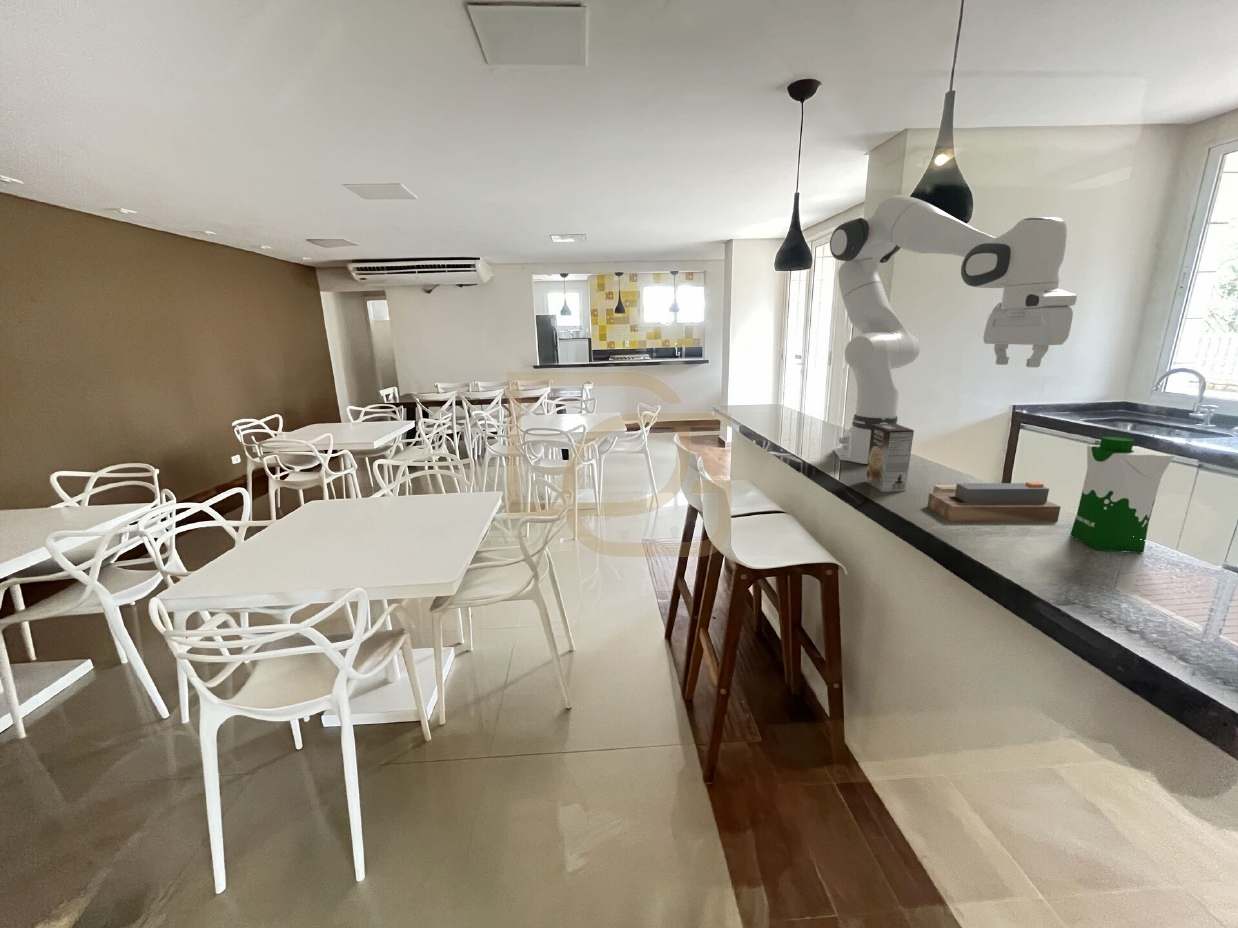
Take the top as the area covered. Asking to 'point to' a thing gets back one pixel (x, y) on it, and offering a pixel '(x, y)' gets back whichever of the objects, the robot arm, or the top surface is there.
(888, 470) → the coffee box
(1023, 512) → the keyhole board
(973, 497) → the grey bar
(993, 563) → the top surface
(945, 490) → the block
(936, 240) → the robot arm
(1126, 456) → the milk carton
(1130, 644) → the top surface
